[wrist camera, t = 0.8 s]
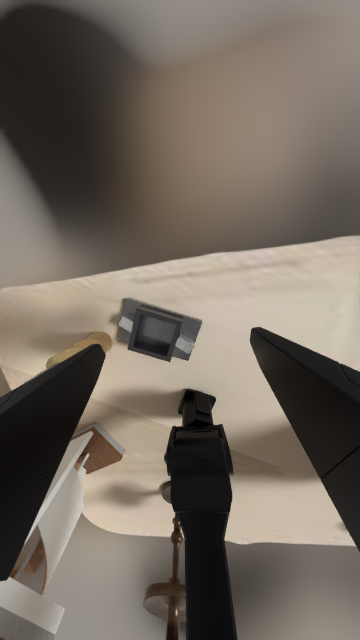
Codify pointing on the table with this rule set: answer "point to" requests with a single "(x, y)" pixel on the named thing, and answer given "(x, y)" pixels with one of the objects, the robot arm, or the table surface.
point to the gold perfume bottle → (79, 349)
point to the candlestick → (169, 586)
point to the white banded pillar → (51, 539)
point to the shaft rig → (158, 331)
